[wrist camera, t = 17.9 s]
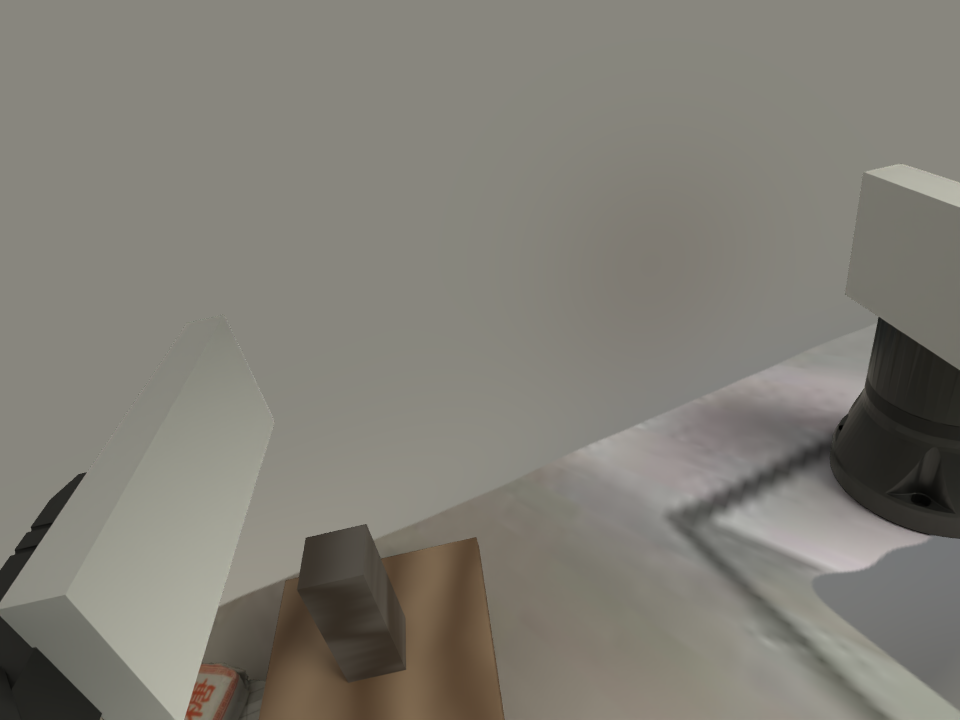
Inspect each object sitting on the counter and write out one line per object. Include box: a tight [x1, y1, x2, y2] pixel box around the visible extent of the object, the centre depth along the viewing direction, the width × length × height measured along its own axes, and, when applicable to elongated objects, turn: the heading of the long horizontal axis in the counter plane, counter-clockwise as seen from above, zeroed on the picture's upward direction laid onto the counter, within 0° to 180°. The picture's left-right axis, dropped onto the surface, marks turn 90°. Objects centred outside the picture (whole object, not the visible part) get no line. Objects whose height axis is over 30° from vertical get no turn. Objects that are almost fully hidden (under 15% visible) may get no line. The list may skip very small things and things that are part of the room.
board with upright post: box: [258, 524, 505, 720], centre depth 40 cm, size 16×16×11 cm
